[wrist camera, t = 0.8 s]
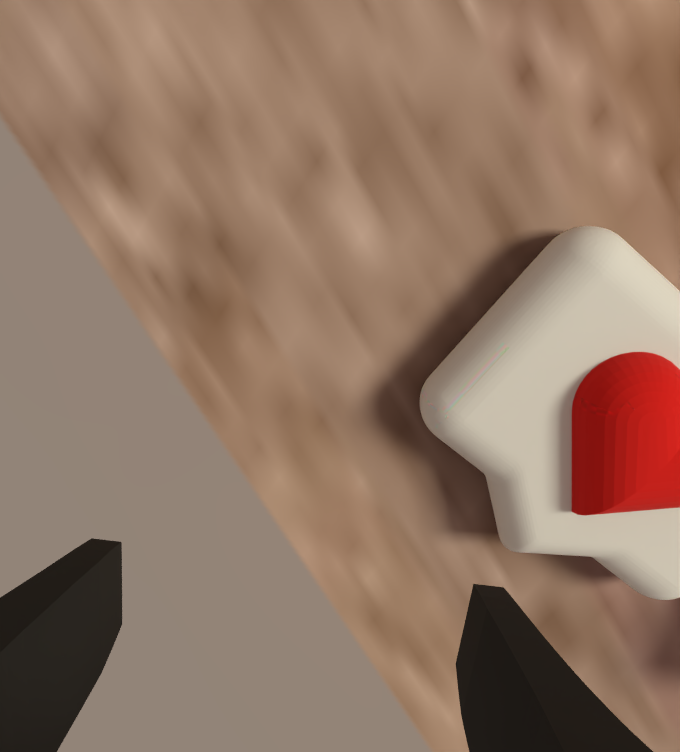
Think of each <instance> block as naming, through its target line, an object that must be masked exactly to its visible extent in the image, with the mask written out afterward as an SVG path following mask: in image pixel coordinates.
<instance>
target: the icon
mask: <svg viewBox="0 0 680 752" xmlns="http://www.w3.org/2000/svg"><path fill="white" fill-rule="evenodd" d="M420 411H421V415H422V418H423V420H424V422H425V424H426V426H427V427H428V429H429V430H430V431H431V432H432V433H433V434H434V435H435V436H436V437H438V438H439V439H440V440H441V441H443V442H444V443H445V444H447V445H448V446H449V447H451V448H452V449H453V450H454V451H456V452H457V453H458V454H460V455H461V456H462V457H463V458H465V459H466V460H467V461H469V462H470V463H471V464H472V465H474V466H475V467H476V468H478V469H479V470H480V471H481V472H483V473H484V474H485V476H486V480H487V485H488V489H489V494H490V498H491V503H492V507H493V511H494V516H495V520H496V525H497V529H498V534H499V537H500V540H501V542H502V544H503V545H504V546H505V547H506V548H507V549H509V550H511V551H514V552H523V553H539V554H555V555H572V556H588V557H592V558H594V559H595V560H596V561H598V562H599V563H600V564H602V565H603V566H604V567H605V568H607V569H608V570H609V571H611V572H612V573H613V574H614V575H616V576H617V577H618V578H620V579H621V580H622V581H623V582H625V583H626V584H627V585H629V586H630V587H631V588H632V589H634V590H635V591H637V592H638V593H640V594H642V595H644V596H647V597H649V598H653V599H658V600H671V599H676V598H679V597H680V291H679V290H678V289H677V288H676V287H675V286H674V285H672V284H671V283H670V282H669V281H668V280H667V279H666V278H665V277H664V276H663V275H662V274H660V273H659V272H658V271H657V270H656V269H655V268H654V267H653V266H652V265H651V264H650V263H648V262H647V261H646V260H645V259H644V258H643V257H642V256H641V255H640V254H639V253H638V252H636V251H635V250H634V249H633V248H632V247H631V246H630V245H629V244H628V243H627V242H626V241H624V240H623V239H622V238H621V237H620V236H619V235H617V234H616V233H614V232H612V231H610V230H608V229H605V228H601V227H596V226H581V227H576V228H572V229H569V230H567V231H565V232H563V233H561V234H559V235H558V236H556V237H555V238H554V239H553V240H552V241H551V242H550V243H549V244H548V245H547V246H546V247H545V248H544V249H543V250H542V251H541V253H540V254H539V255H538V256H537V257H536V258H535V259H534V260H533V261H532V262H531V264H530V265H529V266H528V267H527V268H526V269H525V270H524V271H523V272H522V274H521V275H520V276H519V277H518V278H517V279H516V280H515V281H514V282H513V284H512V285H511V286H510V287H509V288H508V289H507V290H506V291H505V292H504V294H503V295H502V296H501V297H500V298H499V299H498V300H497V301H496V302H495V304H494V305H493V306H492V307H491V308H490V309H489V310H488V311H487V312H486V314H485V315H484V316H483V317H482V318H481V319H480V320H479V321H478V322H477V324H476V325H475V326H474V327H473V328H472V329H471V330H470V331H469V332H468V334H467V335H466V336H465V337H464V338H463V339H462V340H461V341H460V342H459V344H458V345H457V346H456V347H455V348H454V349H453V350H452V351H451V352H450V354H449V355H448V356H447V357H446V358H445V359H444V360H443V361H442V362H441V364H440V365H439V366H438V367H437V368H436V369H435V370H434V371H433V372H432V374H431V375H430V376H429V377H428V378H427V380H426V381H425V383H424V385H423V387H422V390H421V394H420Z"/></svg>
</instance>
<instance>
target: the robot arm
mask: <svg viewBox="0 0 680 752" xmlns="http://www.w3.org/2000/svg"><path fill="white" fill-rule="evenodd" d="M121 553H122V552H121V542H116V541H107V540H99V539H90V540H89V541H87V542H86V543H84V544H82V545H81V546H79V547H77V548H76V549H74V550H73V551H71V552H70V553H68V554H67V555H65V556H64V557H62V558H61V559H59V560H58V561H56V562H55V563H53V564H52V565H50V566H49V567H47V568H46V569H44V570H43V571H41V572H40V573H38V574H36V575H35V576H33V577H32V578H30V579H29V580H27V581H26V582H24V583H23V584H21V585H19V586H18V587H16V588H15V589H13V590H12V591H10V592H8V593H7V594H5V595H4V596H2V597H1V598H0V752H57V750H58V748H59V747H60V745H61V743H62V742H63V739H64V738H65V736H66V734H67V733H68V731H69V729H70V728H71V726H72V724H73V722H74V720H75V719H76V717H77V715H78V714H79V712H80V710H81V708H82V707H83V705H84V703H85V701H86V699H87V697H88V696H89V694H90V692H91V691H92V689H93V687H94V685H95V684H96V682H97V680H98V678H99V676H100V675H101V673H102V670H103V668H104V666H105V664H106V661H107V659H108V657H109V654H110V652H111V650H112V647H113V645H114V642H115V640H116V638H117V635H118V633H119V630H120V628H121V625H122V566H121V565H122V554H121ZM456 670H457V680H458V690H459V699H460V707H461V715H462V720H463V725H464V730H465V734H466V738H467V743H468V747H469V752H653V751H652V750H651V749H650V748H648V747H647V746H646V745H645V744H644V743H643V742H642V741H641V740H640V739H639V738H638V737H637V736H635V735H634V734H633V733H632V732H631V731H630V730H629V729H628V728H627V727H626V726H625V725H624V724H623V723H622V722H621V721H620V720H619V719H618V718H617V717H616V716H615V715H614V714H613V713H612V712H611V711H610V710H609V709H608V708H607V707H606V706H605V705H604V704H603V703H602V702H601V700H600V699H599V698H598V697H597V696H596V695H595V694H594V693H593V692H592V691H591V690H590V689H589V688H588V687H587V686H586V685H585V684H584V682H583V681H582V680H581V679H580V678H579V677H578V676H577V675H576V674H575V673H574V671H573V670H572V669H571V668H570V667H569V666H568V665H567V663H566V662H565V661H564V660H563V659H562V658H561V657H560V655H559V654H558V653H557V652H556V651H555V650H554V648H553V647H552V646H551V645H550V644H549V642H548V641H547V640H546V639H545V638H544V636H543V635H542V634H541V633H540V632H539V630H538V629H537V628H536V627H535V625H534V624H533V623H532V622H531V621H530V619H529V618H528V617H527V616H526V614H525V613H524V612H523V611H522V609H521V608H520V607H519V606H518V604H517V603H516V602H515V601H514V599H513V598H512V597H511V596H510V595H509V593H508V592H507V591H506V590H505V589H504V588H503V587H495V586H486V585H478V584H474V585H473V589H472V594H471V598H470V603H469V607H468V612H467V616H466V620H465V625H464V629H463V634H462V638H461V643H460V647H459V652H458V656H457V661H456Z"/></svg>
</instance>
